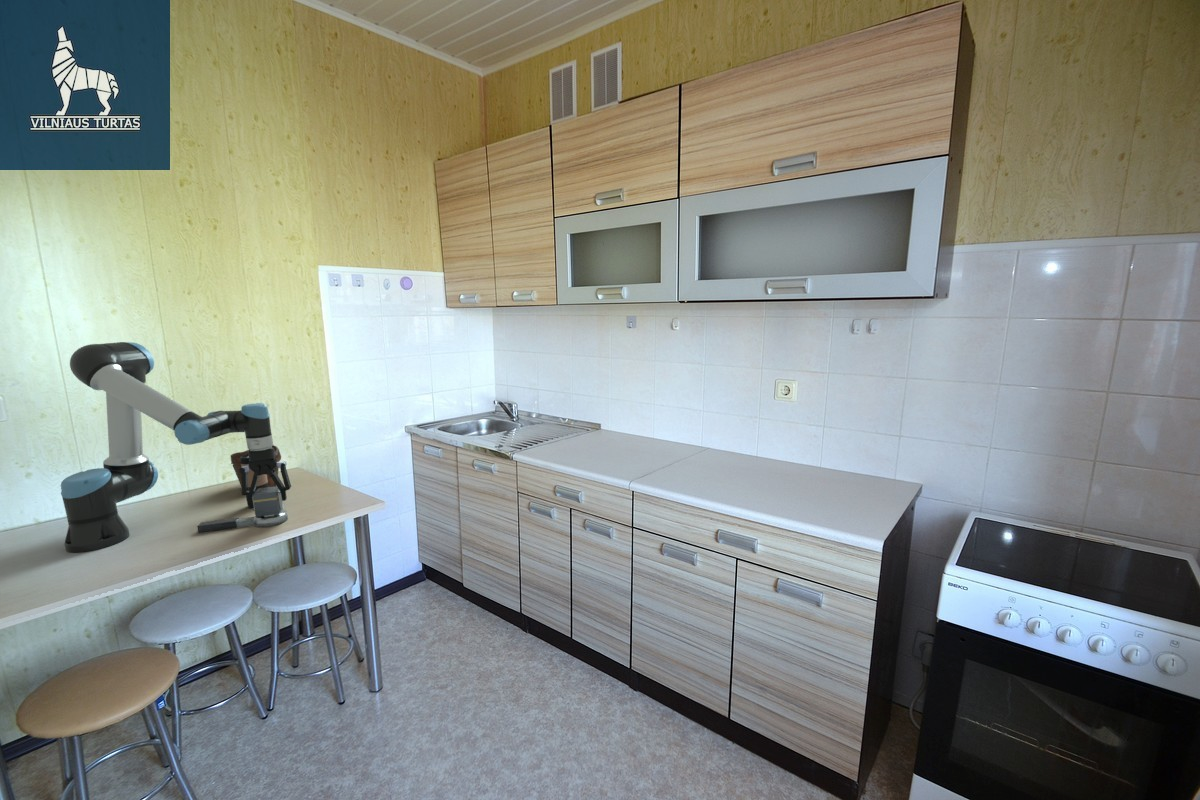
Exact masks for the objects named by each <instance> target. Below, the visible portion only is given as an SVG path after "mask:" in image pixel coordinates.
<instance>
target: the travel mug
mask: <svg viewBox="0 0 1200 800" xmlns="http://www.w3.org/2000/svg"><path fill="white" fill-rule="evenodd" d="M240 461H241V467H242V466H248V465H249V463H250V461H249V455H248V454H246V455H242V456H241V457H240ZM253 475H254V472H253V471H252V470H251V469H250V468H249V471H248V491H249V490H250V487H251V483H252V480H253ZM266 487H268V480H267V475H266V474H263V475H260V476H259V479H258V482H257V485H256V489H255V492H256V490H257V489H258V488H266ZM245 497H246V503H247V508H248V509H253V510H254V505H250V500H249V496H247V495H245Z"/></svg>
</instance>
